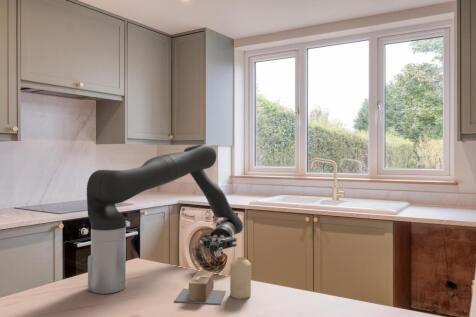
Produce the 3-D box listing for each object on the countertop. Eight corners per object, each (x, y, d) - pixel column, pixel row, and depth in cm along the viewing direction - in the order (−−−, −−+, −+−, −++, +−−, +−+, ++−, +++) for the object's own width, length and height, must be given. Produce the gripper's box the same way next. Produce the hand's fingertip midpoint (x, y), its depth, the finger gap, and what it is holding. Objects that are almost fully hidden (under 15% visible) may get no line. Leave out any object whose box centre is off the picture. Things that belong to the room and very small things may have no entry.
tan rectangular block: (197, 286, 109) (188, 300, 99) (197, 270, 109) (188, 282, 99) (213, 287, 108) (205, 301, 98) (213, 271, 108) (206, 283, 98)
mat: (174, 302, 99) (174, 300, 99) (183, 289, 108) (183, 288, 108) (220, 304, 97) (220, 303, 97) (225, 291, 106) (225, 290, 106)
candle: (248, 299, 100) (249, 261, 100) (228, 298, 102) (228, 260, 101) (252, 292, 106) (252, 256, 106) (232, 290, 107) (232, 255, 107)
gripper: (204, 225, 137) (192, 235, 120) (241, 226, 136) (234, 237, 119) (204, 245, 138) (192, 259, 120) (240, 247, 136) (234, 261, 119)
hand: (213, 248), depth 120 cm, fingers closed
